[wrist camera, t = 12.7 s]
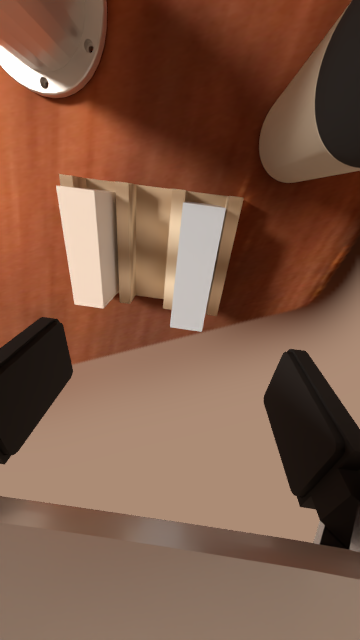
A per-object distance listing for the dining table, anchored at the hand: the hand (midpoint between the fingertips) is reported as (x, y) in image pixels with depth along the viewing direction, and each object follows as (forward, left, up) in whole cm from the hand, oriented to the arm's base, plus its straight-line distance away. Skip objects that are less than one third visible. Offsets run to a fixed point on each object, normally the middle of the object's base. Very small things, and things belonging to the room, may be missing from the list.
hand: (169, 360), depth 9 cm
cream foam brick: (0, -11, -22) cm, 24 cm away
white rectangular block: (0, +1, -22) cm, 22 cm away
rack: (0, -5, -23) cm, 23 cm away
